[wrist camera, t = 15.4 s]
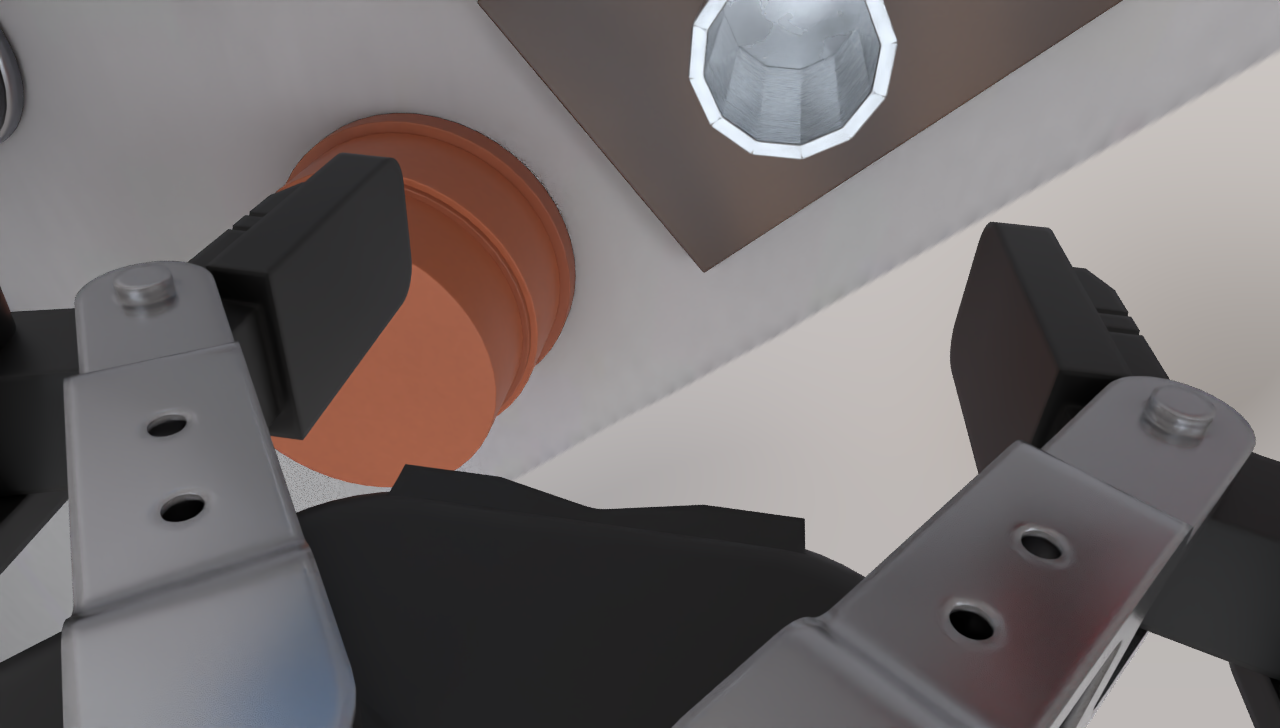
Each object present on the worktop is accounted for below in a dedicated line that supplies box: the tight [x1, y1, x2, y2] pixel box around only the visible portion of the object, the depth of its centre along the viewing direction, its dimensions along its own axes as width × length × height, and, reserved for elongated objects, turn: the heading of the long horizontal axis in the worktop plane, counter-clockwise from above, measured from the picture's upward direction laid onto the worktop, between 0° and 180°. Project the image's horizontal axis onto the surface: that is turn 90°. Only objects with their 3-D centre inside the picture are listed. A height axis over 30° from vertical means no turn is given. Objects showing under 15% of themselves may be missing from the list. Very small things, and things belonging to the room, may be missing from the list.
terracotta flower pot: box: [271, 113, 575, 487], centre depth 40 cm, size 15×15×10 cm
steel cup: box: [688, 0, 898, 160], centre depth 30 cm, size 6×6×9 cm
